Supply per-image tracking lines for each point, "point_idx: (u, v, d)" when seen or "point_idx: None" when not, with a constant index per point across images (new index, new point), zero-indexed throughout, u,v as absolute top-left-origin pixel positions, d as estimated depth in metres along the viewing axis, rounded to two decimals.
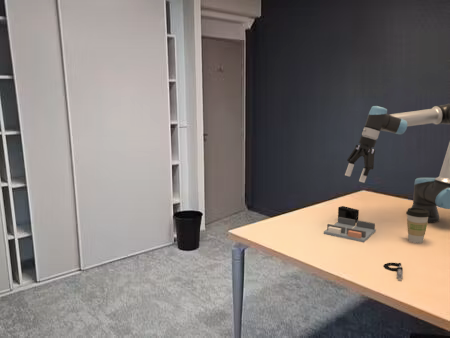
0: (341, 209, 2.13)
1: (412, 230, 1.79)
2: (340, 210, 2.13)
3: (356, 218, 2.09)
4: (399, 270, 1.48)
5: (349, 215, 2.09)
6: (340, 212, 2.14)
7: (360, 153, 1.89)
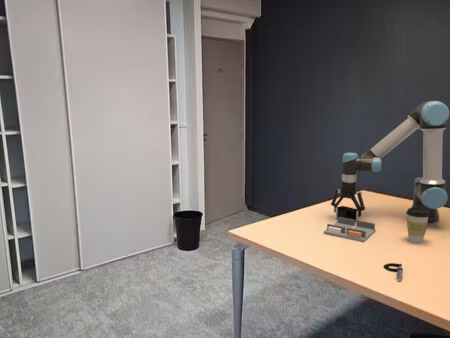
0: (341, 209, 2.13)
1: (412, 230, 1.79)
2: (340, 210, 2.14)
3: None
4: (399, 271, 1.47)
5: (349, 215, 2.10)
6: (340, 212, 2.14)
7: (346, 196, 2.10)
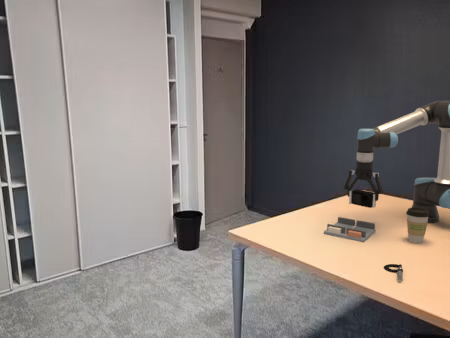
0: (355, 193, 1.90)
1: (412, 230, 1.79)
2: (354, 194, 1.90)
3: None
4: (399, 272, 1.46)
5: (365, 199, 1.86)
6: (354, 196, 1.91)
7: (361, 178, 1.86)
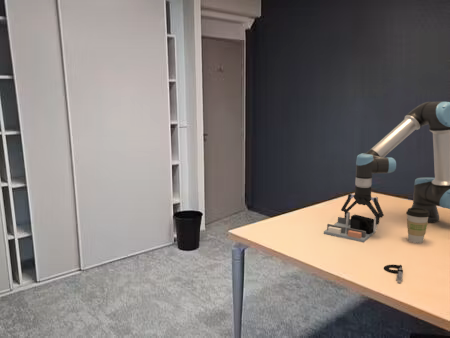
0: (354, 218, 1.92)
1: (412, 230, 1.79)
2: (353, 219, 1.93)
3: (371, 228, 1.88)
4: (399, 272, 1.46)
5: (364, 225, 1.89)
6: (353, 222, 1.93)
7: (360, 203, 1.89)
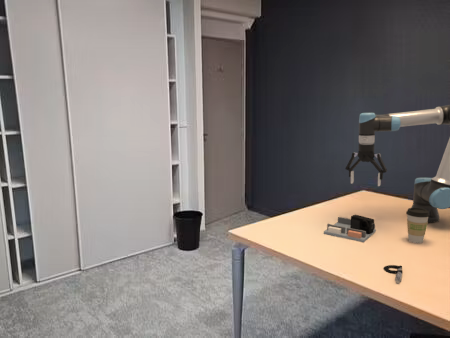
0: (354, 218, 1.92)
1: (412, 230, 1.79)
2: (353, 219, 1.93)
3: (371, 228, 1.88)
4: (398, 273, 1.45)
5: (364, 225, 1.89)
6: (353, 222, 1.93)
7: (364, 160, 1.96)
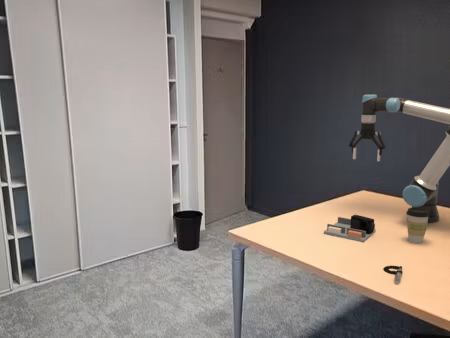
0: (354, 218, 1.92)
1: (411, 230, 1.79)
2: (353, 219, 1.93)
3: (371, 228, 1.88)
4: (398, 273, 1.45)
5: (364, 225, 1.89)
6: (353, 222, 1.93)
7: (365, 137, 2.16)
